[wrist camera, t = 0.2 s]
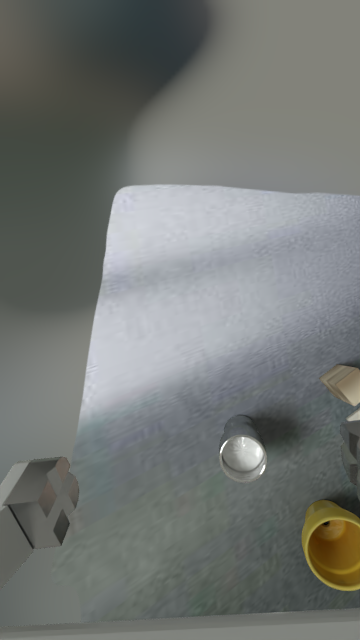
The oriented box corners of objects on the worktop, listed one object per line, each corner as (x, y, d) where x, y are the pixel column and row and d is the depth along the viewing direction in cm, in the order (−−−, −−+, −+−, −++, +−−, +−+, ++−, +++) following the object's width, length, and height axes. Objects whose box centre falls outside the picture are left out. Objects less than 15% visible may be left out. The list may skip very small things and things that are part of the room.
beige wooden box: (352, 382, 59) (376, 389, 50) (334, 396, 60) (354, 406, 50) (337, 364, 60) (357, 367, 50) (318, 378, 60) (335, 384, 51)
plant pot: (295, 549, 59) (307, 589, 49) (291, 488, 60) (302, 515, 50) (359, 552, 57) (384, 594, 48) (354, 489, 58) (377, 518, 48)
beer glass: (262, 415, 61) (271, 437, 47) (258, 454, 61) (265, 489, 46) (223, 409, 63) (220, 429, 48) (219, 447, 62) (214, 479, 47)
